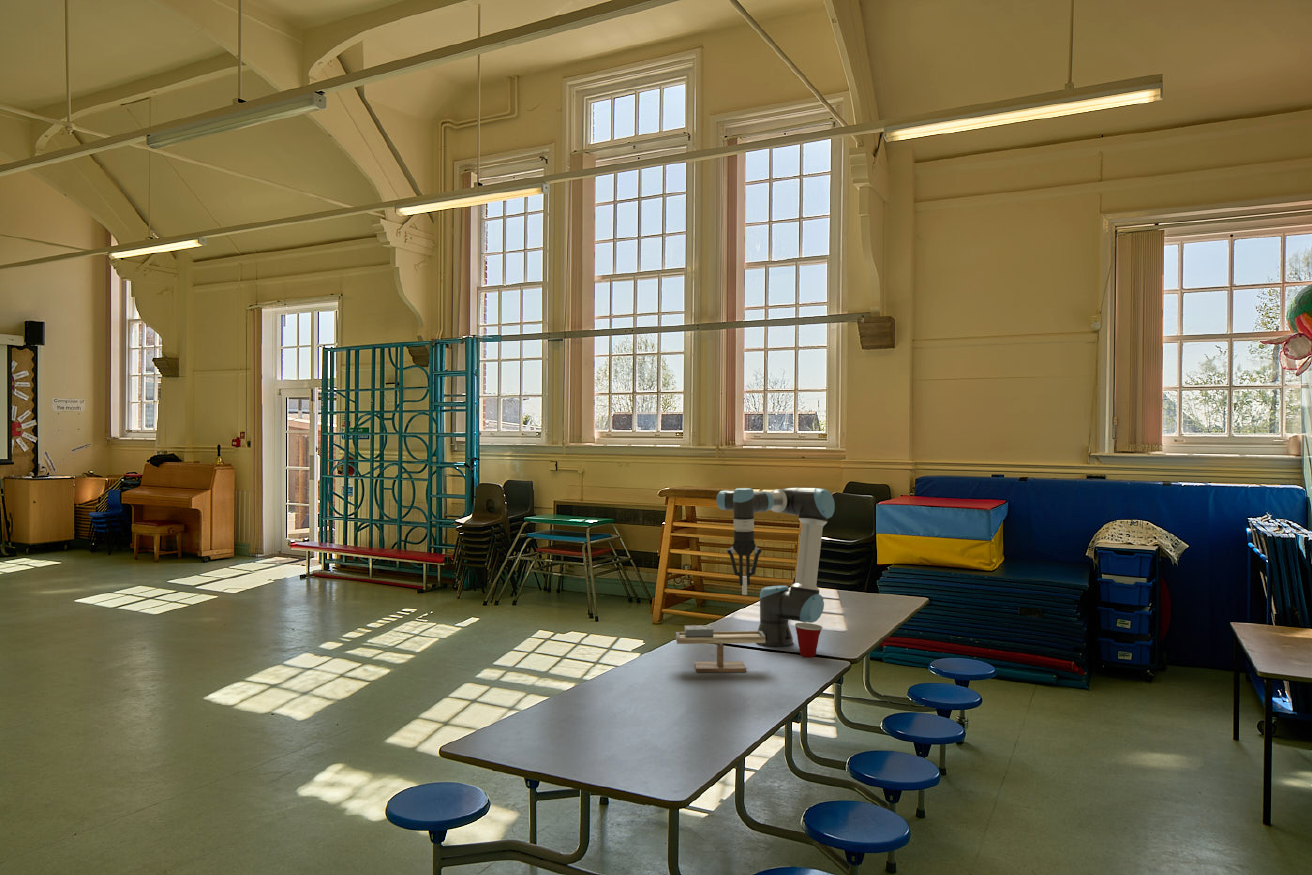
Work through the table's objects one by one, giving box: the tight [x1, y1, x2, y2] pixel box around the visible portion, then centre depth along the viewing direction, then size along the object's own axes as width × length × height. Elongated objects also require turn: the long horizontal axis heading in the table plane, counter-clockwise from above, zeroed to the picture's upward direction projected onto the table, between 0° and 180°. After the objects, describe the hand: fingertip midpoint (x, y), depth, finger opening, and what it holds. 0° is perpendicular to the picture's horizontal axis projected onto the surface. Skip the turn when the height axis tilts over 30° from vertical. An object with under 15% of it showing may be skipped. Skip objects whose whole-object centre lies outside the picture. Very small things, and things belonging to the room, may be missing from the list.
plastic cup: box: [794, 622, 824, 658], centre depth 340 cm, size 11×11×12 cm
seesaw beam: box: [675, 630, 765, 646], centre depth 321 cm, size 10×32×3 cm, turn 91°
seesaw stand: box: [694, 643, 747, 673], centre depth 321 cm, size 10×18×9 cm, turn 91°
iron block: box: [684, 624, 714, 637], centre depth 321 cm, size 7×10×4 cm
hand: (744, 594), depth 324 cm, fingers closed
